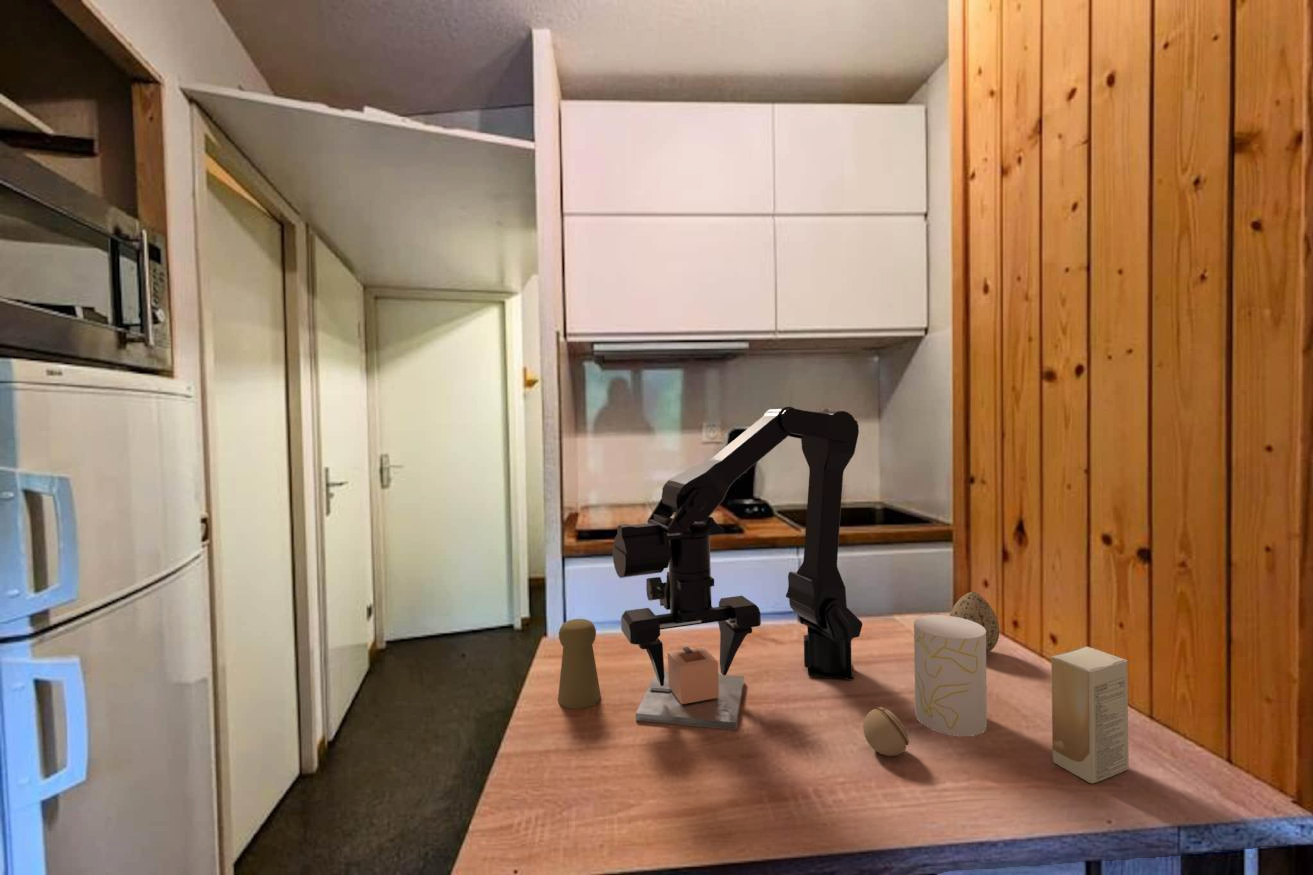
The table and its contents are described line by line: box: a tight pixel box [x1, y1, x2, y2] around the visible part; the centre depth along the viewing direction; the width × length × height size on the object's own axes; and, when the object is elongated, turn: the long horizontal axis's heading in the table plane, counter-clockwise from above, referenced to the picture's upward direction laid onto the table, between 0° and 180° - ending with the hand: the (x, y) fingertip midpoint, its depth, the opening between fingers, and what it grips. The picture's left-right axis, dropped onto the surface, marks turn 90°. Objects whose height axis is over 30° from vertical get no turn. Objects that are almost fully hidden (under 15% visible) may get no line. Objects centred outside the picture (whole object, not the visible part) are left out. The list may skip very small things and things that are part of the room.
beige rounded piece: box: [862, 706, 910, 757], centre depth 67 cm, size 5×5×5 cm
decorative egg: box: [949, 591, 1000, 654], centre depth 93 cm, size 7×7×10 cm
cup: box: [913, 614, 988, 737], centre depth 73 cm, size 8×8×12 cm
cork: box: [557, 618, 602, 710], centre depth 81 cm, size 6×6×11 cm
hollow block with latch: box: [667, 646, 719, 704], centre depth 80 cm, size 5×5×5 cm
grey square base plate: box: [635, 669, 745, 731], centre depth 80 cm, size 13×13×4 cm
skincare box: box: [1050, 646, 1130, 784], centre depth 63 cm, size 6×4×12 cm
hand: (692, 679), depth 80 cm, fingers open, 9 cm apart
